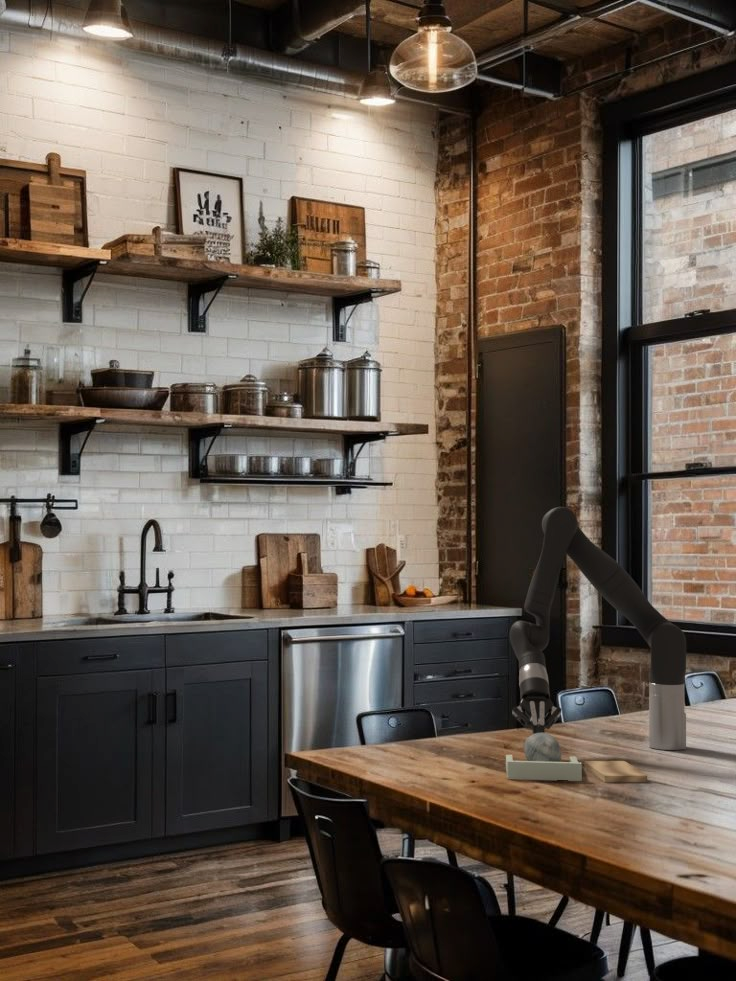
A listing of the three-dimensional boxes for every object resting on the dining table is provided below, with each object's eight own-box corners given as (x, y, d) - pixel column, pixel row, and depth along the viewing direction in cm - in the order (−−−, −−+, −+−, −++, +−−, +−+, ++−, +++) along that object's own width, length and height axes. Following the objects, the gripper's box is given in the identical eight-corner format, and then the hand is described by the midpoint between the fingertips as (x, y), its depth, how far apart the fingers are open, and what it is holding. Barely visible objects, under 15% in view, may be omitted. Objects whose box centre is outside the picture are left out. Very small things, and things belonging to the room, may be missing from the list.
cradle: (575, 766, 295) (575, 750, 296) (581, 781, 278) (581, 763, 278) (505, 764, 297) (505, 748, 297) (507, 779, 280) (507, 761, 280)
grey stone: (520, 747, 303) (537, 715, 300) (554, 766, 301) (572, 733, 298) (511, 770, 290) (529, 736, 287) (547, 789, 288) (566, 756, 285)
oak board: (624, 767, 296) (624, 760, 296) (647, 782, 278) (647, 775, 278) (584, 767, 295) (584, 761, 295) (604, 782, 277) (604, 775, 277)
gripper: (509, 675, 311) (514, 731, 299) (561, 676, 311) (567, 732, 298) (507, 693, 316) (511, 749, 304) (558, 694, 316) (564, 749, 303)
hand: (539, 740), depth 301 cm, fingers closed
